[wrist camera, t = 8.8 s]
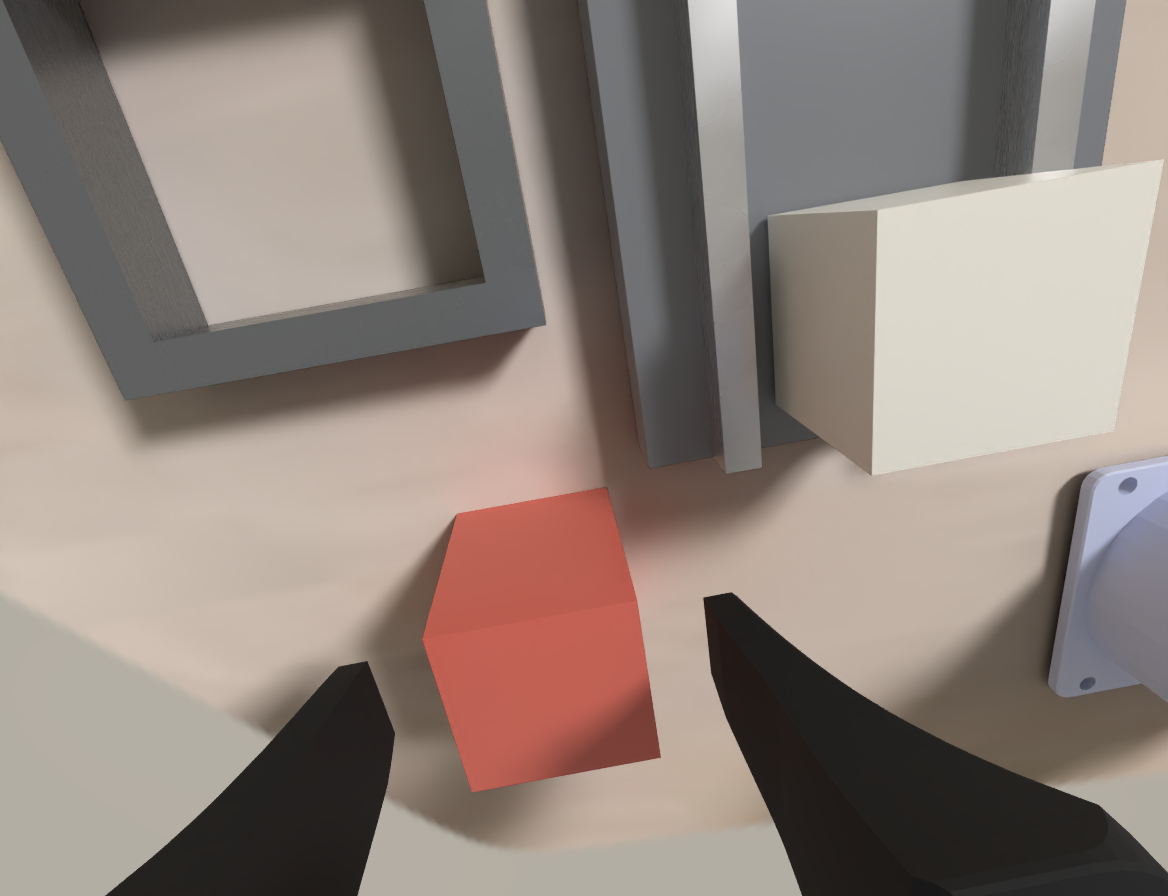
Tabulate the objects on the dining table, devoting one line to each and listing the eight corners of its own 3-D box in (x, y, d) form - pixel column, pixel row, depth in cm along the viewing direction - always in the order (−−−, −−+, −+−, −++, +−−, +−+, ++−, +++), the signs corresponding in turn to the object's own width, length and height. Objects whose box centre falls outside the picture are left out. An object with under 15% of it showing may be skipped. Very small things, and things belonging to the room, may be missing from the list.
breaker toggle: (962, 180, 12) (1164, 159, 8) (949, 372, 13) (1113, 430, 9) (767, 215, 12) (877, 210, 8) (775, 404, 13) (871, 475, 9)
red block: (606, 486, 15) (637, 600, 11) (626, 609, 17) (660, 757, 12) (457, 512, 15) (422, 639, 11) (490, 634, 17) (472, 792, 12)
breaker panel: (1109, -412, 10) (1285, -609, 8) (1017, 376, 15) (1106, 404, 13) (533, -316, 10) (532, -487, 7) (639, 446, 15) (658, 486, 13)
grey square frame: (456, -165, 10) (438, -250, 8) (544, 311, 13) (546, 324, 12) (-17, -85, 10) (-140, -155, 8) (182, 376, 13) (124, 400, 11)
